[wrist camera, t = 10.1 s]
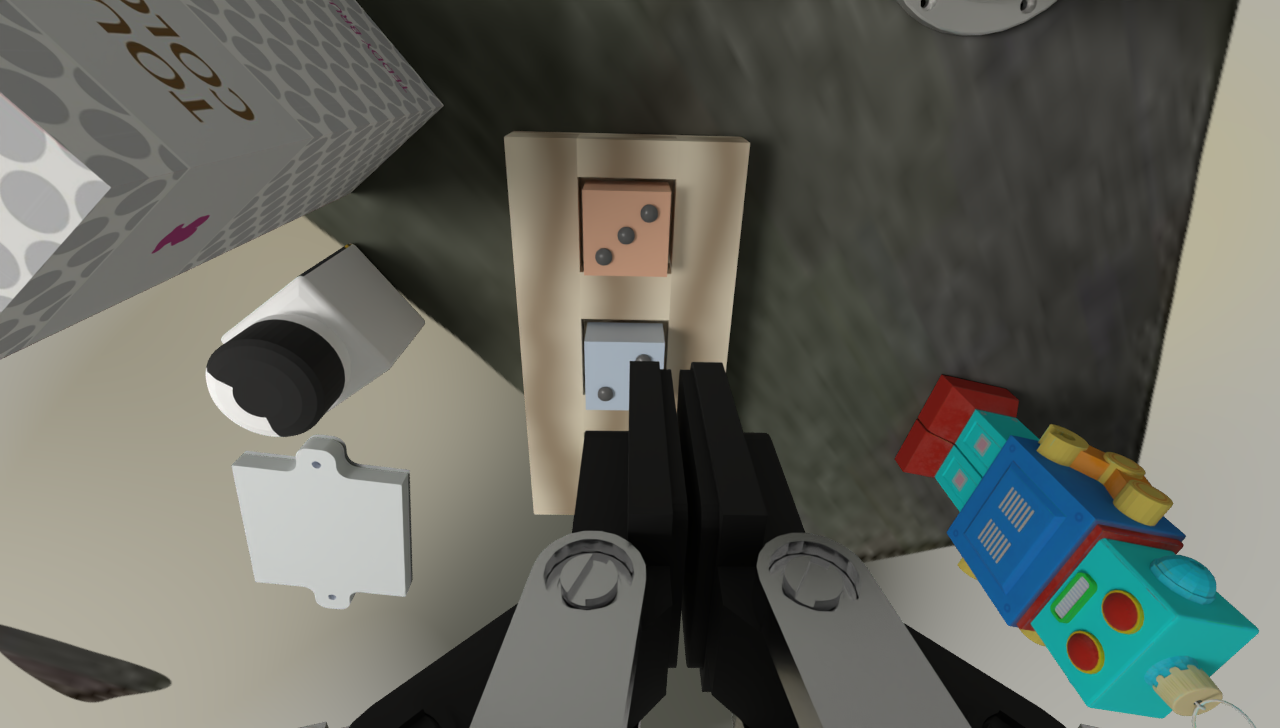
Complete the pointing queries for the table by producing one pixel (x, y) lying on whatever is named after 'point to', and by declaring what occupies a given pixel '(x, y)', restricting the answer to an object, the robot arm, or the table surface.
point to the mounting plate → (326, 521)
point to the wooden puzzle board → (567, 299)
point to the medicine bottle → (311, 346)
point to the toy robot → (1077, 554)
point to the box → (177, 138)
